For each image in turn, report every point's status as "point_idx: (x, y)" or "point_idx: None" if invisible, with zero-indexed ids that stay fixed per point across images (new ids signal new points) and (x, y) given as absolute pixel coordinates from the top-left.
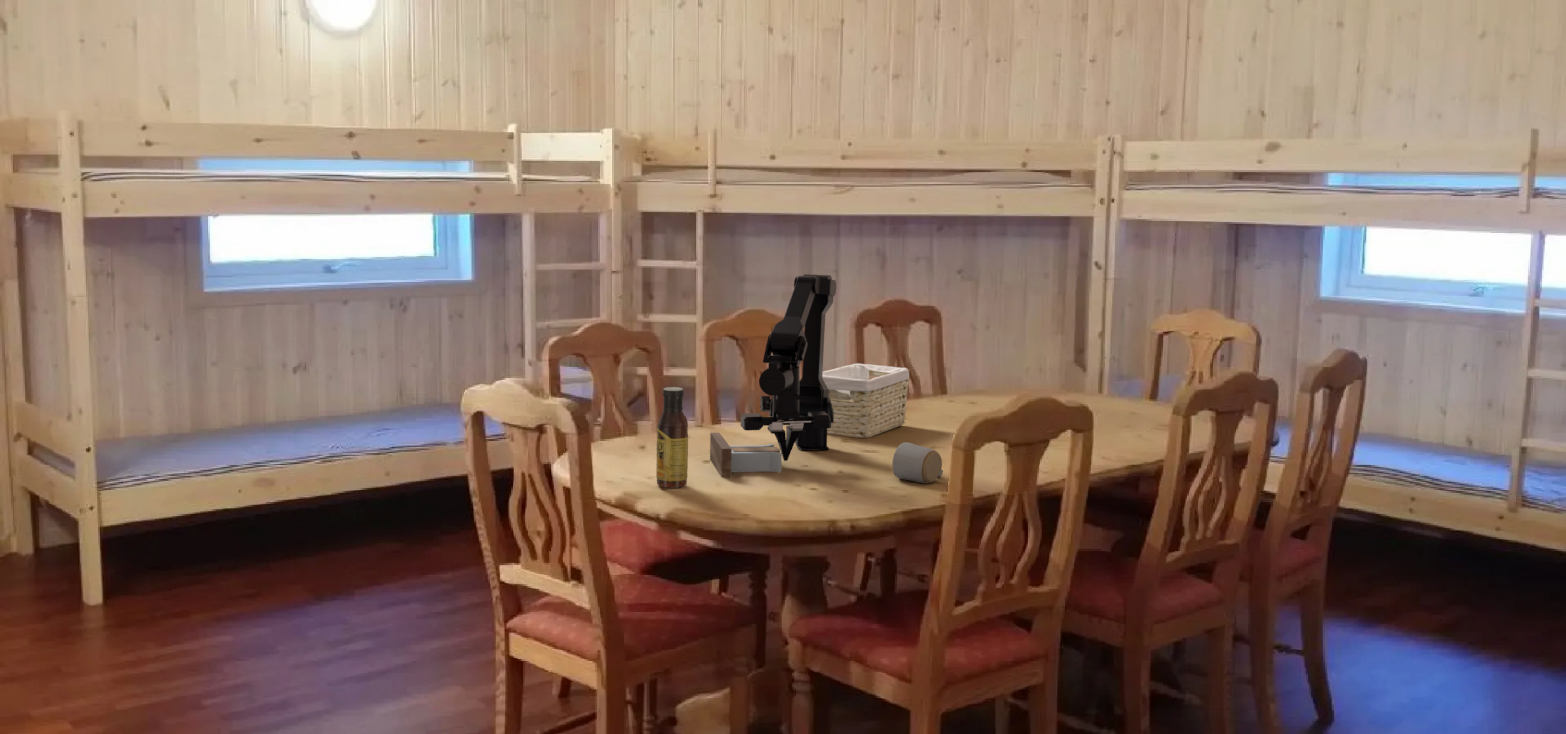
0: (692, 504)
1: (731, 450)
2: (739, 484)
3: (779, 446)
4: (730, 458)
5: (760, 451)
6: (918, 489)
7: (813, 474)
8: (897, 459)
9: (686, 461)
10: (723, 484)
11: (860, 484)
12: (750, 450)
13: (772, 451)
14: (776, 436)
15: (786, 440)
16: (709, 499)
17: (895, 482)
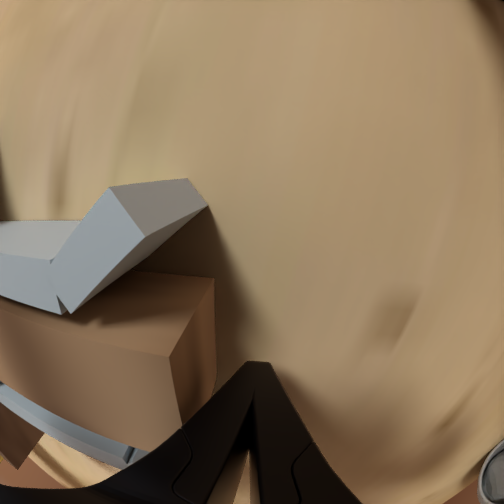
0: (72, 486)
1: (20, 465)
2: (98, 464)
3: (190, 423)
4: (29, 448)
5: (72, 418)
6: (450, 493)
7: (339, 457)
8: (482, 501)
9: (1, 458)
10: (67, 449)
11: (391, 499)
12: (26, 390)
13: (140, 443)
14: (120, 495)
15: (256, 493)
16: (82, 486)
17: (462, 472)
